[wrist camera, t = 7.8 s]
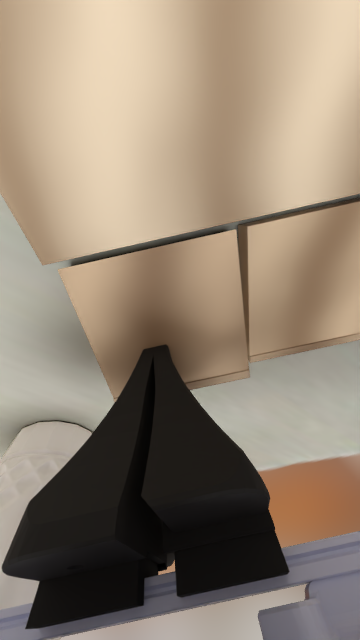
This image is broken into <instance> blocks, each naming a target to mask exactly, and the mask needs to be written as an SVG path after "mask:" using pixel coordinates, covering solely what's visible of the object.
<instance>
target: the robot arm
mask: <svg viewBox="0 0 360 640" xmlns="http://www.w3.org/2000/svg"><path fill="white" fill-rule="evenodd" d="M269 501H270V496H269V492H268V490H267V488H266V486H265V484H264V482H263V480H262V478H261V477H260V475H259V474H258V472H257V470H256V469H255V467H254V466H253V465H252V463H251V462H250V460H249V459H248V457H247V456H246V454H245V453H244V451H243V450H242V449H241V448H240V447H239V446H238V445H237V444H236V443H235V442H233V441H232V439H231V438H230V437H229V436H228V435H227V434H226V433H225V432H224V431H223V430H222V429H221V428H220V427H219V426H218V425H217V424H216V423H215V422H214V420H213V419H212V418H211V417H210V416H209V415H208V413H207V412H206V411H205V410H204V409H203V408H202V406H201V405H200V404H199V403H198V401H197V400H196V399H195V397H194V396H193V395H192V393H191V392H190V390H189V389H188V387H187V386H186V384H185V383H184V381H183V380H182V378H181V376H180V375H179V373H178V371H177V369H176V367H175V365H174V363H173V361H172V358H171V354H170V351H169V347H168V345H166V344H165V345H160V346H156V347H152V348H147V349H143V351H142V353H141V355H140V357H139V360H138V362H137V364H136V366H135V368H134V370H133V372H132V374H131V376H130V378H129V380H128V381H127V383H126V385H125V387H124V388H123V390H122V392H121V394H120V395H119V397H118V399H117V400H116V402H115V403H114V405H113V406H112V408H111V409H110V411H109V412H108V413H107V415H106V416H105V418H104V419H103V420H102V422H101V423H100V424H99V426H98V427H97V428H96V430H95V431H94V432H93V433H92V435H91V436H90V437H89V438H88V440H87V441H86V442H85V443H84V444H83V445H82V447H81V448H80V449H79V450H78V451H77V452H76V453H75V455H74V456H73V457H72V458H71V459H70V460H69V461H68V462H67V463H66V465H65V466H64V467H63V468H62V469H61V470H60V471H59V472H58V473H57V474H56V475H55V476H54V477H53V478H52V479H51V480H50V481H49V482H48V483H47V484H46V485H45V486H44V487H43V488H42V489H41V490H40V491H39V492H38V493H37V494H36V495H35V496H34V497H33V498H32V499H31V500H30V501H29V503H28V505H27V507H26V510H25V512H24V514H23V516H22V519H21V521H20V523H19V526H18V528H17V531H16V533H15V535H14V538H13V540H12V543H11V545H10V547H9V550H8V552H7V554H6V557H5V559H4V562H3V564H2V571H3V573H4V574H6V575H8V576H12V577H17V578H23V579H29V580H35V581H40V582H39V585H38V588H37V592H36V595H35V598H34V601H33V603H29V604H24V605H20V606H15V607H11V608H6V609H1V610H0V640H50V639H55V638H59V637H64V636H69V635H73V634H78V633H82V632H87V631H91V630H96V629H101V628H105V627H110V626H115V625H119V624H124V623H128V622H133V621H138V620H142V619H146V618H151V617H156V616H161V615H165V614H170V613H174V612H179V611H184V610H188V609H193V608H197V607H202V606H207V605H211V604H215V603H220V602H225V601H230V600H234V599H239V598H243V597H248V596H253V595H257V594H262V593H266V592H271V591H276V590H280V589H285V588H289V587H294V586H298V585H303V584H307V585H306V588H305V600H304V601H300V602H296V603H291V604H287V605H282V606H278V607H273V608H269V609H265V610H260V611H259V613H258V619H259V623H260V627H261V631H262V635H263V640H360V531H358V532H353V533H348V534H344V535H340V536H335V537H331V538H326V539H321V540H316V541H312V542H307V543H303V544H298V545H294V546H289V547H285V548H281V547H280V544H279V541H278V538H277V536H276V533H275V527H274V523H273V520H272V518H271V515H270V513H269V510H268V507H269ZM174 560H175V572H170V573H166V574H162V575H158V571H163V570H166V569H167V567H168V566H171V565H172V564H173V561H174ZM308 583H309V584H308Z"/></svg>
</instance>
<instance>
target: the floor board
mask: <svg viewBox="0 0 360 640" xmlns="http://www.w3.org/2000/svg"><path fill="white" fill-rule="evenodd" d="M0 193H1V195H2V197H3V198H4V200H5V202H6V203H7V205H8V207H9V209H10V210H11V212H12V214H13V215H14V217H15V219H16V221H17V222H18V224H19V226H20V227H21V229H22V231H23V232H24V234H25V236H26V238H27V239H28V241H29V243H30V244H31V246H32V248H33V250H34V251H35V253H36V255H37V256H38V258H39V260H40V262H41V263H42V265H46V264H51V263H55V262H60V261H64V260H68V259H73V258H77V257H82V256H86V255H91V254H95V253H99V252H104V251H108V250H113V249H117V248H122V247H126V246H130V245H135V244H139V243H144V242H148V241H152V240H157V239H161V238H166V237H170V236H175V235H179V234H183V233H188V232H192V231H197V230H201V229H206V228H210V227H214V226H219V225H223V224H228V223H232V222H236V221H241V220H245V219H250V218H254V217H259V216H263V215H267V214H272V213H276V212H281V211H285V210H290V209H294V208H298V207H303V206H307V205H312V204H316V203H320V202H325V201H329V200H334V199H338V198H343V197H347V196H351V195H356V194H360V0H0Z"/></svg>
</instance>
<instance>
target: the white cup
mask: <svg viewBox="0 0 360 640" xmlns="http://www.w3.org/2000/svg"><path fill="white" fill-rule="evenodd" d="M91 435H92V433H91V431H89V430H87V429H85V428H83V427H81V426H78V425H76V424H71V423H65V422H59V421H53V422H38V423H35V424H33V425H30V426H27V427H25V428H23V429H22V430H21V431H20V432H19V433H18V435H17V436H16V437H15V438H14V440H13V441H12V443H11V444H10V446H9V447H8V449H7V450H6V452H5V454H4V455H3V457H2V458H1V460H0V610H1V609H6V608H11V607H15V606H20V605H24V604H29V603H33V601H34V598H35V595H36V592H37V588H38V585H39V582H40V581H35V580H29V579H23V578H17V577H12V576H8V575H6V574H4V573H3V571H2V564H3V562H4V559H5V557H6V554H7V552H8V550H9V547H10V545H11V543H12V540H13V538H14V535H15V533H16V531H17V528H18V526H19V523H20V521H21V519H22V516H23V514H24V512H25V510H26V507H27V505H28V503H29V501H30V500H31V499H32V498H33V497H34V496H35V495H36V494H37V493H38V492H39V491H40V490H41V489H42V488H43V487H44V486H45V485H46V484H47V483H48V482H49V481H50V480H51V479H52V478H53V477H54V476H55V475H56V474H57V473H58V472H59V471H60V470H61V469H62V468H63V467H64V466H65V465H66V463H67V462H68V461H69V460H70V459H71V458H72V457H73V456H74V455H75V453H76V452H77V451H78V450H79V449H80V448H81V447H82V445H83V444H84V443H85V442H86V441H87V440H88V438H89V437H90V436H91ZM60 639H61V637H59V638H55V639H50V640H60Z"/></svg>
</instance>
